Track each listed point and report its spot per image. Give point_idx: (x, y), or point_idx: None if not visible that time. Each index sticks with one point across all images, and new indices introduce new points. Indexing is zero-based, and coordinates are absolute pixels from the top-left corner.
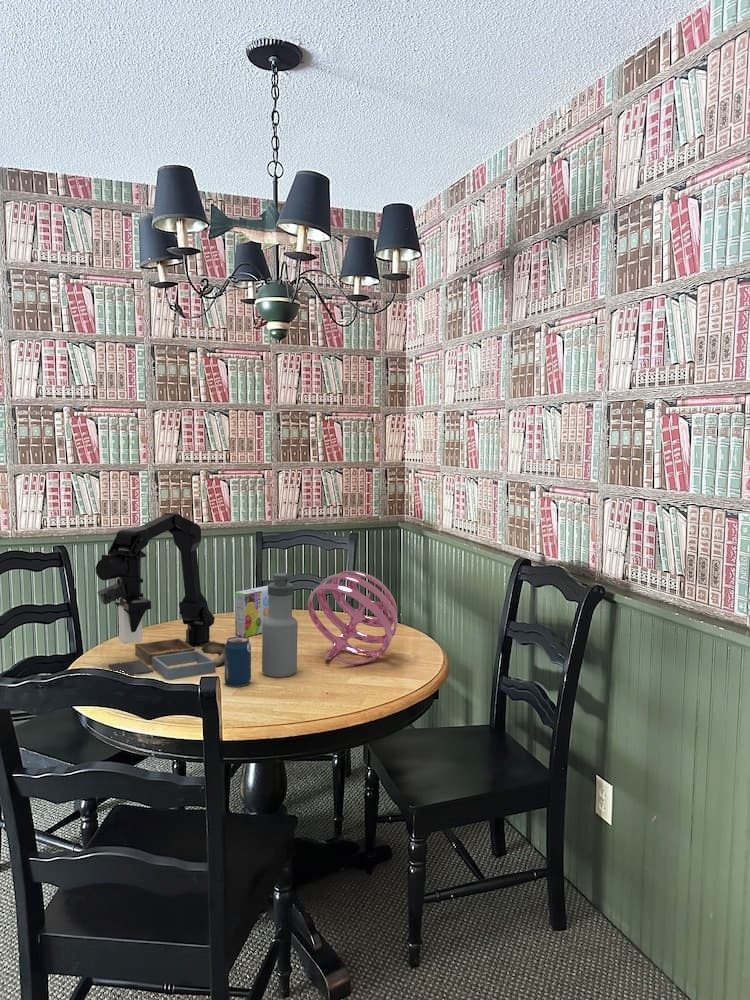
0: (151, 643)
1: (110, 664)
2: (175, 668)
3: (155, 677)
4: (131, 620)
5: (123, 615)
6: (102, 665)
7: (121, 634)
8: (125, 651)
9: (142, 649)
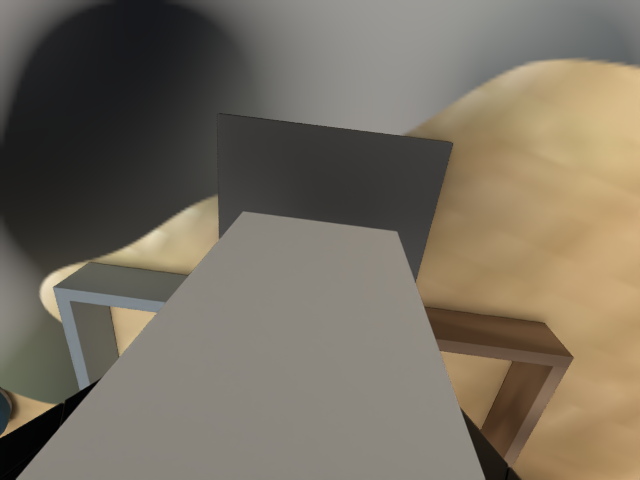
0: (526, 410)
1: (444, 153)
2: (63, 315)
3: (146, 241)
4: (45, 427)
5: (83, 452)
6: (491, 122)
7: (311, 248)
8: (626, 310)
9: (448, 341)
